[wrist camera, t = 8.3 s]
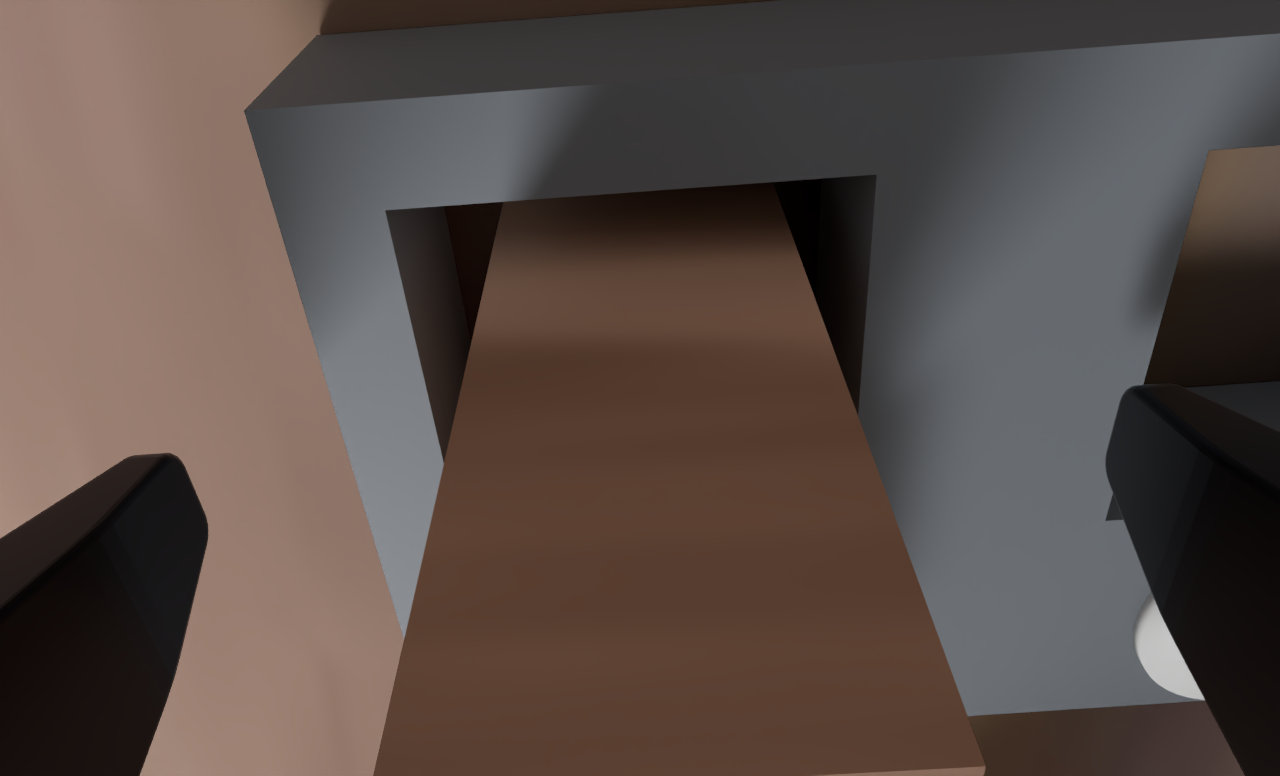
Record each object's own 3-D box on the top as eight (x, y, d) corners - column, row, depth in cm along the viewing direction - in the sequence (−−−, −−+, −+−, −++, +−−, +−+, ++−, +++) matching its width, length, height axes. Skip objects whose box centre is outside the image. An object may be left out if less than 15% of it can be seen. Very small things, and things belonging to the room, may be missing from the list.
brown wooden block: (758, 373, 13) (915, 1041, 6) (537, 385, 13) (461, 1063, 6) (764, 159, 11) (985, 766, 5) (509, 174, 11) (368, 797, 5)
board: (1340, 555, 15) (1653, 905, 11) (460, 613, 15) (399, 983, 11) (1636, -65, 10) (2477, 99, 6) (316, 34, 10) (87, 272, 6)
